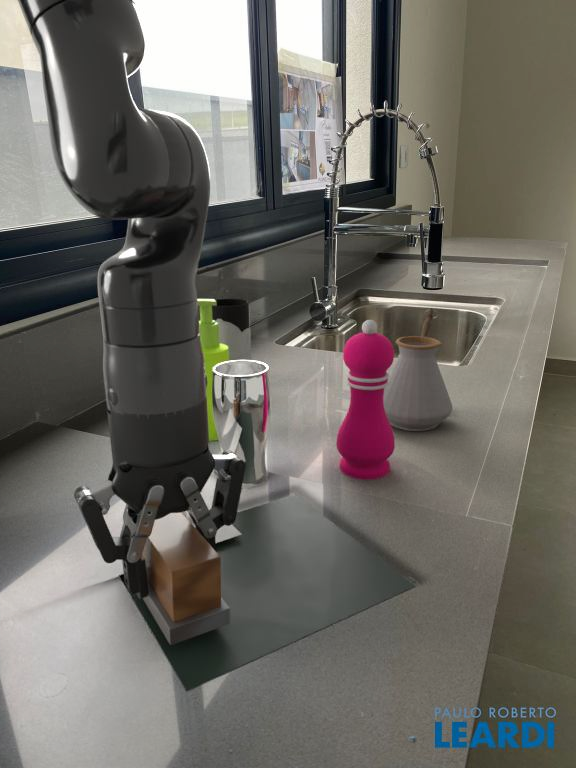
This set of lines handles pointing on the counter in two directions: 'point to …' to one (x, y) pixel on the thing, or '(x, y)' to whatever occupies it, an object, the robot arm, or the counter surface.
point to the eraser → (183, 580)
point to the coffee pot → (417, 384)
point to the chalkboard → (279, 588)
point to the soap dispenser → (210, 354)
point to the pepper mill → (366, 406)
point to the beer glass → (243, 414)
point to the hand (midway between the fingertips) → (172, 580)
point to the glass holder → (234, 327)
